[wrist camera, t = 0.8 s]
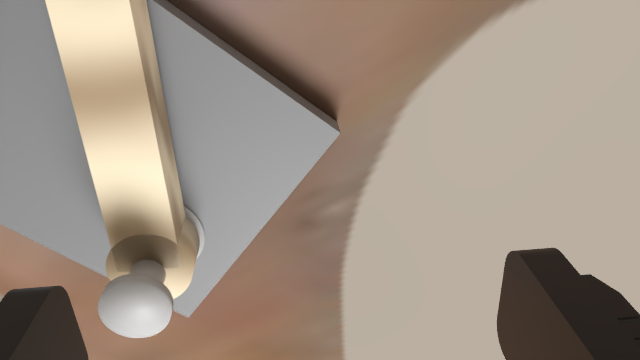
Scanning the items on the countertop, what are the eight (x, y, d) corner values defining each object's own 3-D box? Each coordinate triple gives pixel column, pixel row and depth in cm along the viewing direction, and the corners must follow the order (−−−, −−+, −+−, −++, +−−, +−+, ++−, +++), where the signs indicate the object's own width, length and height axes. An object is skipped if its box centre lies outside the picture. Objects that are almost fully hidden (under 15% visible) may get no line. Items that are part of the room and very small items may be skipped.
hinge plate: (-274, 62, 23) (-489, 119, 17) (-177, -245, 19) (-418, -330, 12) (192, 300, 31) (169, 403, 25) (337, 122, 27) (356, 189, 20)
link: (204, 269, 28) (198, 299, 26) (128, 274, 28) (116, 306, 26) (137, -119, 20) (120, -123, 18) (30, -114, 20) (-2, -118, 17)
